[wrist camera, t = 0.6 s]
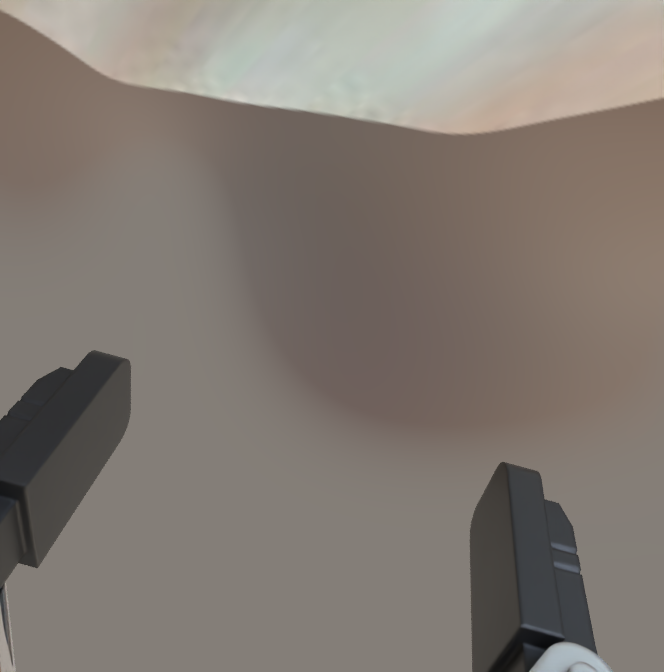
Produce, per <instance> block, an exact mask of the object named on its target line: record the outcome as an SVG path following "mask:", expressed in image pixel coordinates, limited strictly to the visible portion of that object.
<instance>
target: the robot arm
mask: <svg viewBox="0 0 664 672" xmlns="http://www.w3.org/2000/svg"><path fill="white" fill-rule="evenodd" d="M130 404H131V366H130V361H129V360H128V359H125V358H121V357H117V356H113V355H110V354H106V353H102V352H99V351H95V350H94V351H91V352H90V353H88V354H87V356H86V357H85V358H84V359H83V360H82V361H81V363H80V364H79V365H78V366H77V367H76V368H75V369H74V370H70V369H66V368H63V367H60V368H59V369H57V370H55V371H53V372H51V373H49V374H47V375H46V376H44V377H42V378H40V379H38V380H37V381H36V382H35V383H34V384H33V385H32V386H31V387H30V389H29V390H28V391H27V392H26V393H25V394H24V395H23V396H22V398H21V400H20V401H18V402H17V403H16V404H15V405H14V406H13V407H12V408H11V409H10V410H9V412H8V414H7V416H4V417H3V418H2V419H1V420H0V672H16V671H15V662H14V652H13V643H12V634H11V624H10V615H9V606H8V596H7V588H6V580H7V578H8V577H9V575H10V574H11V573H12V571H13V569H14V568H15V567H16V565H17V564H18V563H21V564H24V565H28V566H32V567H35V568H38V567H39V565H40V564H41V562H42V561H43V559H44V558H45V556H46V555H47V553H48V551H49V550H50V548H51V547H52V545H53V544H54V542H55V541H56V539H57V538H58V536H59V535H60V533H61V531H62V530H63V528H64V527H65V525H66V523H67V522H68V521H69V519H70V518H71V516H72V514H73V513H74V512H75V510H76V508H77V507H78V505H79V504H80V502H81V501H82V499H83V498H84V496H85V495H86V493H87V492H88V490H89V489H90V487H91V485H92V484H93V482H94V481H95V479H96V478H97V476H98V475H99V473H100V471H101V470H102V468H103V467H104V466H105V464H106V462H107V461H108V459H109V458H110V456H111V455H112V453H113V452H114V450H115V449H116V447H117V446H118V444H119V443H120V441H121V439H122V437H123V435H124V433H125V431H126V428H127V425H128V422H129V418H130V410H131V405H130ZM576 552H577V547H576V542H575V537H574V531H573V526H572V525H571V523H570V521H569V520H568V518H567V516H566V515H565V513H564V511H563V510H562V508H561V506H560V505H559V503H556V502H552V501H548V500H545V499H544V494H543V487H542V480H541V476H540V474H539V472H537V471H535V470H531V469H527V468H524V467H520V466H516V465H512V464H509V463H505V462H502V463H500V464H499V466H498V467H497V469H496V471H495V472H494V474H493V476H492V478H491V480H490V482H489V484H488V486H487V488H486V489H485V491H484V493H483V495H482V497H481V499H480V501H479V502H478V504H477V506H476V508H475V511H474V514H473V518H472V522H471V529H470V567H471V569H470V570H471V616H472V618H471V620H472V669H473V672H613V671H612V670H611V668H610V667H609V666H608V664H606V662H604V661H603V659H602V658H600V657H599V656H598V654H597V650H596V646H595V641H594V637H593V631H592V625H591V620H590V615H589V610H588V604H587V599H586V594H585V589H584V584H583V578H582V575H580V571H581V568H580V562H579V557H578V555H576Z"/></svg>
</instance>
